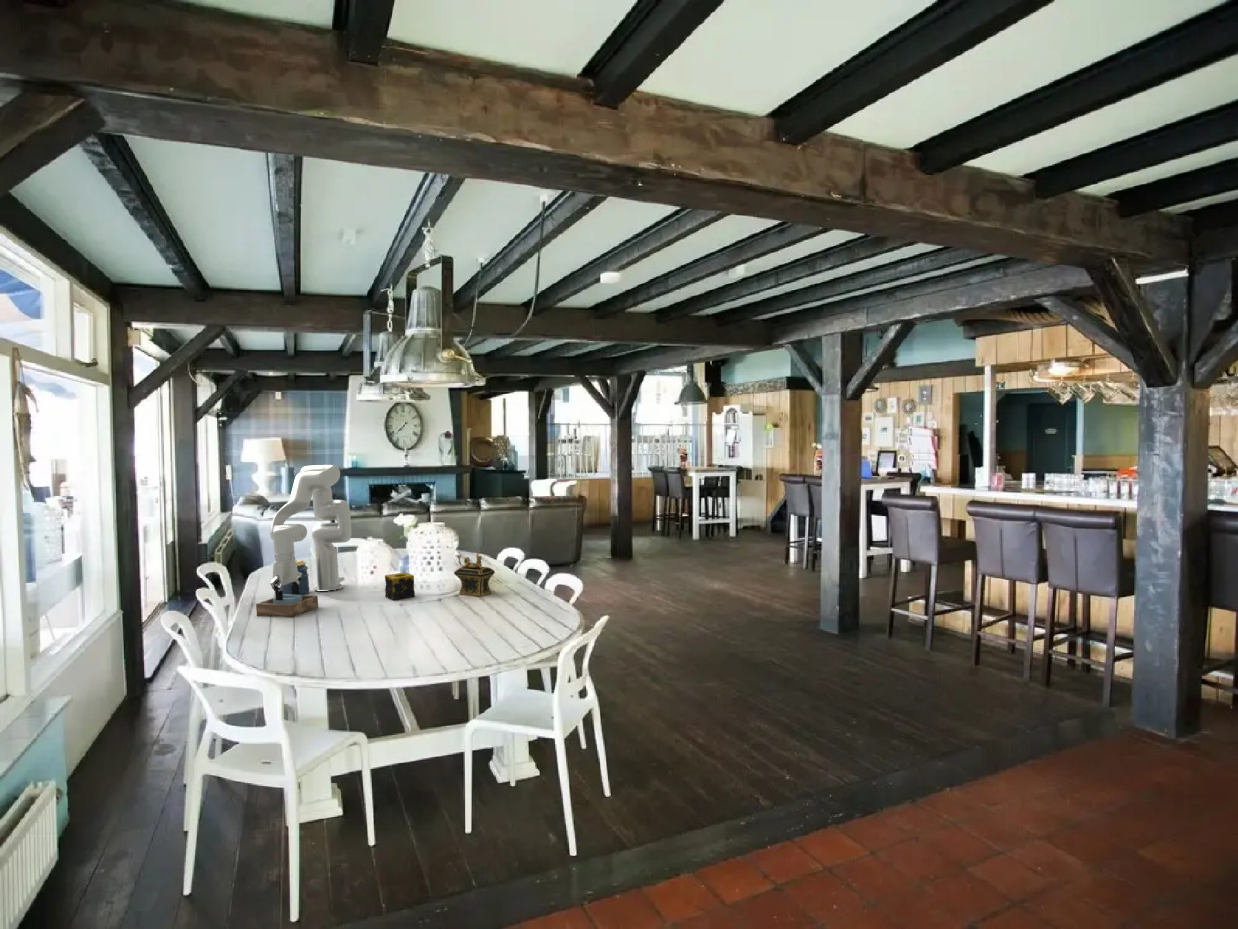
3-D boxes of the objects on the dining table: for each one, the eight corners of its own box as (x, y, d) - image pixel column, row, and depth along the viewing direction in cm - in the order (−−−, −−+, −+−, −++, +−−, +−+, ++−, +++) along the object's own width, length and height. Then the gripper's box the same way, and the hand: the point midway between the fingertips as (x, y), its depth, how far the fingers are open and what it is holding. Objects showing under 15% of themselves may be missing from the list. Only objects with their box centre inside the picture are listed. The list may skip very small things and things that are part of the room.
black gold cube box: (385, 597, 321) (383, 575, 321) (407, 593, 327) (405, 571, 327) (393, 601, 313) (391, 578, 312) (415, 597, 319) (414, 575, 318)
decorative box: (497, 592, 322) (495, 549, 321) (482, 597, 313) (480, 552, 312) (463, 589, 332) (461, 546, 331) (448, 593, 324) (446, 550, 322)
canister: (305, 589, 343) (302, 553, 342) (313, 594, 333) (311, 556, 332) (275, 594, 335) (273, 557, 334) (283, 599, 325) (281, 560, 324)
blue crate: (284, 607, 306) (283, 594, 306) (302, 608, 304) (301, 595, 303) (273, 611, 300) (272, 598, 299) (291, 612, 297) (291, 598, 297)
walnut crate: (283, 606, 311) (283, 594, 311) (318, 607, 307) (317, 595, 306) (256, 615, 296) (256, 603, 296) (292, 617, 292) (291, 605, 291)
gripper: (291, 552, 310) (294, 591, 311) (261, 561, 293) (265, 602, 294) (306, 552, 308) (309, 592, 309) (277, 561, 291) (280, 603, 292)
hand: (287, 597), depth 302 cm, fingers open, 9 cm apart
